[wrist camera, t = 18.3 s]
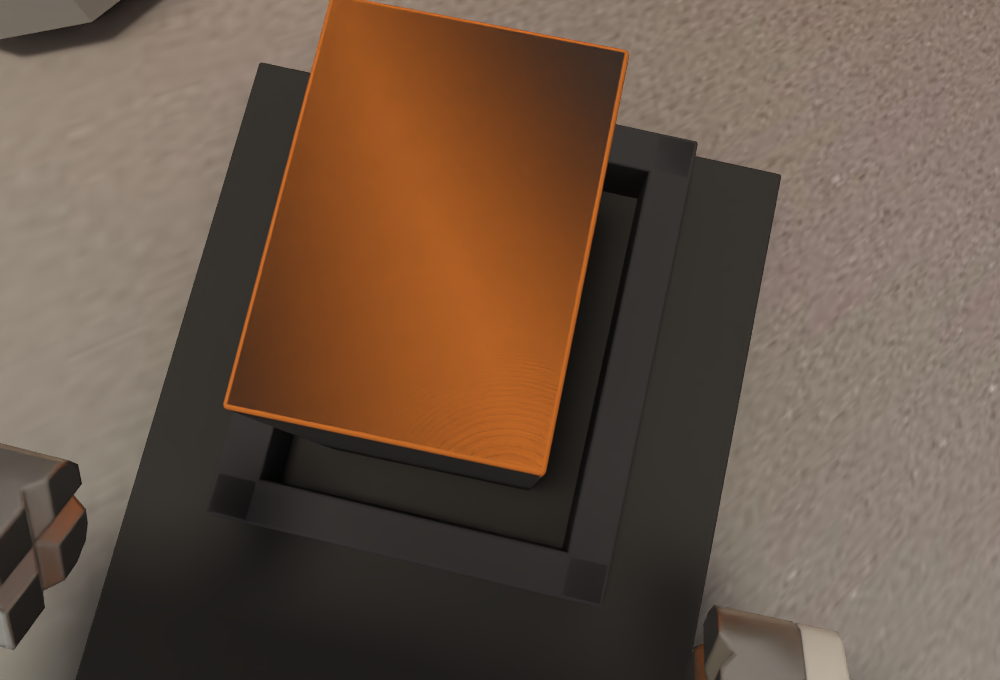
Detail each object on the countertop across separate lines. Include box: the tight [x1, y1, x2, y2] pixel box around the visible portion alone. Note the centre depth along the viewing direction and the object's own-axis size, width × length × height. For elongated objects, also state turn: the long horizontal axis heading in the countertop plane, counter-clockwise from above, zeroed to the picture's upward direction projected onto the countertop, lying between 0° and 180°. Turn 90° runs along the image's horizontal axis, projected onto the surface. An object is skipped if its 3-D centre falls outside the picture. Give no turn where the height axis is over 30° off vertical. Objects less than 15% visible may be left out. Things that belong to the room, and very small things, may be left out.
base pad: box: [76, 63, 781, 680], centre depth 23 cm, size 18×14×4 cm
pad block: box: [223, 0, 629, 490], centre depth 19 cm, size 7×5×9 cm
